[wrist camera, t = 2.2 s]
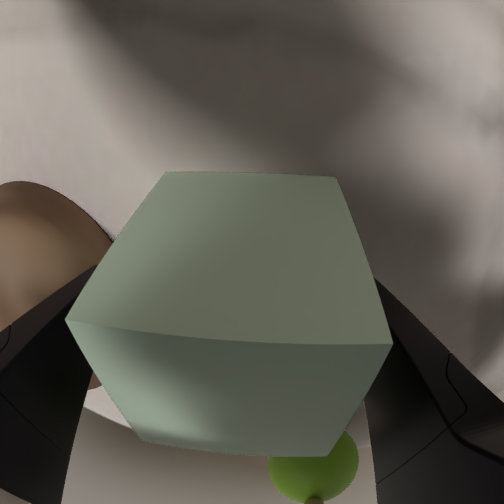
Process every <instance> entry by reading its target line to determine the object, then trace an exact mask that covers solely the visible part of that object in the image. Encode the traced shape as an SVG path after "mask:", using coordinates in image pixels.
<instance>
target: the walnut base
mask: <svg viewBox="0 0 504 504" xmlns="http://www.w3.org/2000/svg"><path fill="white" fill-rule="evenodd" d="M112 244H113V243H112V242H111V240H110V239H109V238H108V236H107V235H106V234H105V232H104V231H103V230H102V229H101V228H100V227H99V226H98V225H97V223H96V222H95V221H94V220H93V219H92V218H91V217H90V216H88V215H87V214H86V213H85V212H84V211H83V210H82V209H81V208H79V207H78V206H77V205H76V204H74V203H73V202H72V201H70V200H69V199H67V198H66V197H64V196H62V195H61V194H59V193H58V192H55V191H53V190H51V189H49V188H47V187H45V186H42V185H39V184H36V183H31V182H25V181H13V182H9V183H4V184H2V185H0V332H1V331H2V330H3V329H5V328H6V327H7V326H9V325H11V324H12V323H13V322H14V321H15V320H17V319H18V318H19V317H21V316H22V315H23V314H25V313H26V312H27V311H29V310H30V309H32V308H33V307H34V306H36V305H37V304H39V303H40V302H41V301H43V300H44V299H46V298H47V297H48V296H50V295H51V294H53V293H54V292H56V291H57V290H58V289H60V288H61V287H63V286H64V285H66V284H67V283H69V282H70V281H71V280H73V279H74V278H76V277H77V276H79V275H80V274H82V273H83V272H85V271H86V270H88V269H89V268H91V267H92V266H94V265H96V264H99V263H100V262H101V260H102V259H103V257H104V256H105V254H106V253H107V251H108V250H109V248H110V247H111V245H112ZM101 385H102V384H101V382H100V381H99V379H98V377H97V376H96V374H95V373H94V371H93V374H92V377H91V380H90V384H89V387H88V390H90V389H94V388H97V387H99V386H101Z"/></svg>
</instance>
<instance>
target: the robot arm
mask: <svg viewBox="0 0 504 504" xmlns="http://www.w3.org/2000/svg"><path fill="white" fill-rule="evenodd" d="M98 265H99V264H96V265H94V266H92V267H91V268H89V269H88V270H86V271H85V272H83V273H82V274H80V275H79V276H77V277H76V278H74V279H73V280H71V281H70V282H69V283H67V284H66V285H64V286H63V287H61V288H60V289H58V290H57V291H56V292H54V293H53V294H51V295H50V296H48V297H47V298H46V299H44V300H43V301H41V302H40V303H39V304H37V305H36V306H34V307H33V308H32V309H30V310H29V311H27V312H26V313H25V314H23V315H22V316H21V317H19V318H18V319H17V320H15V321H14V322H13V323H12V324H11V325H9V326H7V327H6V328H5V329H3V330H2V331H1V332H0V504H30V503H31V504H61V501H62V495H63V489H64V484H65V479H66V474H67V469H68V465H69V460H70V455H71V451H72V447H73V442H74V438H75V434H76V430H77V426H78V422H79V418H80V415H81V411H82V408H83V404H84V401H85V397H86V394H87V390H88V387H89V384H90V380H91V377H92V374H93V369H92V368H91V366H90V364H89V363H88V361H87V359H86V358H85V356H84V354H83V352H82V351H81V349H80V347H79V345H78V344H77V342H76V340H75V338H74V336H73V334H72V333H71V331H70V329H69V327H68V325H67V323H66V321H65V318H66V317H67V315H68V313H69V311H70V310H71V308H72V306H73V305H74V303H75V301H76V300H77V298H78V296H79V295H80V293H81V291H82V290H83V288H84V287H85V285H86V283H87V282H88V280H89V279H90V277H91V276H92V274H93V272H94V271H95V269H96V268H97V266H98ZM373 278H374V277H373ZM374 281H375V284H376V287H377V290H378V293H379V297H380V300H381V303H382V306H383V310H384V313H385V316H386V320H387V323H388V327H389V330H390V334H391V337H392V341H393V345H392V347H391V349H390V351H389V353H388V355H387V357H386V359H385V361H384V363H383V365H382V367H381V368H380V370H379V372H378V374H377V376H376V378H375V380H374V381H373V383H372V385H371V387H370V389H369V390H368V392H367V394H366V396H365V397H364V400H365V406H366V412H367V419H368V425H369V432H370V440H371V447H372V454H373V462H374V472H375V479H376V480H375V481H376V492H377V502H378V504H504V403H503V402H502V401H501V400H500V399H499V398H498V397H497V396H496V395H494V394H493V393H492V392H491V391H490V390H489V389H488V388H487V387H486V386H485V385H483V384H482V383H481V382H480V381H479V380H478V379H477V378H476V377H475V376H474V375H473V374H472V373H471V372H470V371H469V370H468V369H467V368H466V367H465V366H464V365H463V364H462V363H461V362H460V361H459V360H458V359H457V358H456V357H455V356H454V355H453V354H452V353H450V351H449V350H448V349H447V348H446V347H445V346H444V345H443V344H442V343H441V342H440V341H439V340H438V339H437V338H436V337H435V336H434V335H433V334H432V333H431V332H430V331H429V330H428V329H427V328H426V327H425V326H424V325H423V324H422V323H421V322H420V321H419V320H418V319H417V318H416V317H415V316H414V315H413V314H412V313H411V312H410V311H409V310H408V309H407V308H406V307H405V306H404V305H403V304H402V303H401V302H400V301H399V300H398V299H397V298H396V297H395V296H394V295H392V294H391V293H390V292H389V291H388V290H387V289H386V288H385V287H384V286H383V285H382V284H381V283H380V282H379V281H378V280H377V279H375V278H374Z"/></svg>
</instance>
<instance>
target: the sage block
mask: <svg viewBox="0 0 504 504" xmlns="http://www.w3.org/2000/svg"><path fill="white" fill-rule="evenodd" d="M65 321H66V323H67V325H68V327H69V329H70V331H71V333H72V334H73V336H74V338H75V340H76V342H77V344H78V345H79V347H80V349H81V351H82V352H83V354H84V356H85V358H86V359H87V361H88V363H89V364H90V366H91V368H92V369H93V371H94V373H95V374H96V376H97V377H98V379H99V381H100V382H101V384H102V385H103V387H104V388H105V390H106V392H107V393H108V395H109V396H110V398H111V399H112V401H113V402H114V404H115V405H116V406H117V408H118V409H119V411H120V412H121V414H122V415H123V416H124V418H125V419H126V421H127V422H128V423H129V425H130V426H131V427H132V429H133V430H134V431H135V433H136V434H137V435H138V437H139V438H140V439H141V440H142V441H147V442H152V443H157V444H162V445H168V446H174V447H180V448H187V449H193V450H201V451H208V452H217V453H227V454H239V455H253V456H275V457H320V456H327V455H328V454H329V453H330V451H331V450H332V448H333V447H334V445H335V444H336V442H337V441H338V439H339V438H340V436H341V435H342V433H343V432H344V430H345V428H346V427H347V425H348V424H349V422H350V421H351V419H352V417H353V416H354V414H355V412H356V411H357V409H358V407H359V406H360V404H361V402H362V401H363V399H364V397H365V396H366V394H367V392H368V390H369V389H370V387H371V385H372V383H373V381H374V380H375V378H376V376H377V374H378V372H379V370H380V368H381V367H382V365H383V363H384V361H385V359H386V357H387V355H388V353H389V351H390V349H391V347H392V345H393V341H392V337H391V334H390V330H389V327H388V323H387V320H386V316H385V313H384V310H383V306H382V303H381V300H380V297H379V293H378V290H377V287H376V284H375V281H374V278H373V275H372V272H371V269H370V266H369V263H368V260H367V257H366V254H365V252H364V249H363V246H362V243H361V240H360V238H359V235H358V232H357V230H356V227H355V224H354V222H353V219H352V216H351V214H350V211H349V209H348V206H347V203H346V201H345V198H344V196H343V193H342V191H341V189H340V186H339V184H338V181H337V179H336V177H325V176H311V175H295V174H276V173H250V172H165V173H164V175H163V176H162V177H161V178H160V180H159V181H158V182H157V184H156V185H155V186H154V187H153V189H152V190H151V191H150V193H149V194H148V195H147V197H146V198H145V199H144V201H143V202H142V203H141V205H140V206H139V207H138V209H137V210H136V211H135V213H134V214H133V215H132V217H131V218H130V220H129V221H128V222H127V224H126V225H125V227H124V228H123V229H122V231H121V232H120V234H119V235H118V237H117V238H116V239H115V241H114V242H113V244H112V245H111V247H110V248H109V250H108V251H107V253H106V254H105V256H104V257H103V259H102V260H101V262H100V263H99V265H98V266H97V268H96V269H95V271H94V272H93V274H92V276H91V277H90V279H89V280H88V282H87V283H86V285H85V287H84V288H83V290H82V291H81V293H80V295H79V296H78V298H77V300H76V301H75V303H74V305H73V306H72V308H71V310H70V311H69V313H68V315H67V317H66V318H65Z"/></svg>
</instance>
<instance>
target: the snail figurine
mask: <svg viewBox="0 0 504 504" xmlns="http://www.w3.org/2000/svg"><path fill="white" fill-rule="evenodd" d="M358 463H359V456H358V451H357V447H356V445H355V443H354V441H353V439H352V438H351V437H350V435H349V434H348V433H347V432H346V431H344V432H343V433H342V435H341V436H340V438H339V439H338V441H337V442H336V444H335V445H334V447H333V448H332V450H331V451H330V453H329V454H328V455H327V456H320V457H275V456H269V459H268V471H269V475H270V478H271V481H272V482H273V484H274V486H275V487H276V488H277V489H278V490H279V491H280V492H281V493H282V494H283V495H285V496H286V497H288V498H290V499H292V500H294V501H298V502H302V503H304V504H324V502H323V501H326V500H329V499H332V498H334V497H336V496H337V495H339V494H340V493H342V492H343V491H344V490H345V489H346V488H347V487H348V486H349V485H350V483H351V482H352V480H353V479H354V477H355V475H356V472H357V468H358Z"/></svg>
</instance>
